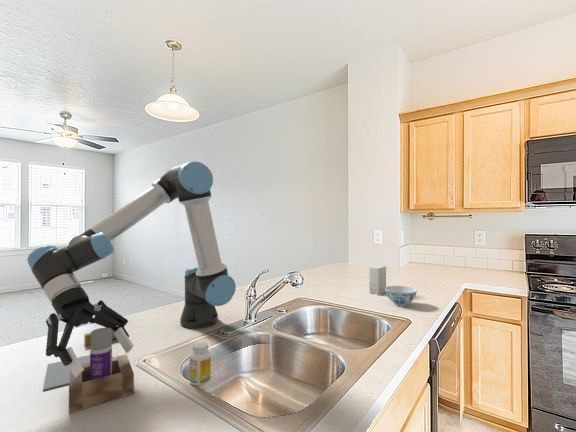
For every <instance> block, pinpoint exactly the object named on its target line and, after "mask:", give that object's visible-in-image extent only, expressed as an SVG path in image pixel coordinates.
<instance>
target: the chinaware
mask: <svg viewBox="0 0 576 432" xmlns="http://www.w3.org/2000/svg"><path fill="white" fill-rule="evenodd" d="M385 292H386V293H385V294H386V297H387V298H388V299H389V300H390V302H393V303H394V304H395V305H394V304H393V305H394V306H396V305H400V306H399V307H407V306H406V305H408V306H409V304H410V303H412V302H413V301H414V299H415V298H416V296H417V292H418V291H417V289H416V288H413V287H410V286H406V285H405V286H404V285H389V286H386V287H385Z"/></svg>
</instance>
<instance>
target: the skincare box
mask: <svg viewBox="0 0 576 432" xmlns="http://www.w3.org/2000/svg"><path fill="white" fill-rule="evenodd" d="M368 273H369V277H368V278H369V282H368V284H369V286H368V288H369V290H368V291H369V294H370V293H372V294H371V295H374V294H377V295H376V296H381V295H383V294H382V293H384V294H386V293H385V287H387V266H384V265H379V264H377V265H372V266H369V271H368ZM380 294H381V295H380Z"/></svg>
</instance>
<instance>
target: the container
mask: <svg viewBox="0 0 576 432" xmlns="http://www.w3.org/2000/svg"><path fill="white" fill-rule="evenodd" d="M90 333H91V345H90V346H89V349H90V350H89V355H90V380H93V379H97V378H101V377H105V376H109V375H112V357H113V341H112V331H111V328H106V327H100V328H95V329H93V330H92V331H90Z"/></svg>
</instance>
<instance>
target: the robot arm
mask: <svg viewBox="0 0 576 432" xmlns="http://www.w3.org/2000/svg"><path fill="white" fill-rule="evenodd" d="M213 184H214V176H213V173H212V171H211V170H210V168H209V167H208V166H207V165H206V164H205V163H203V162H200V161H196V160H195V161H194V160H193V161H187V162H186V161H185V162H184V163H182V164H179V165H176V166H173V167H171V168H170V169H169V170H168V171H166V172H165V173H164V174H163V175H161V176H160V177H159V178H158V179H156V180H155V181H153V182H152V183H151V187H149V188H148V189H147V190H145V191H143V192H142V193H140V194H139V195H137V196H136V197H135V198H132V200H130V201H128V202H126V203H125V204H124V205H123V206H122V207H119V208H118V209H116V210H115V211H114V212H112V213H111V214H109V215H108V216H106V217H105V218H103V219H102V220H100V221H99V222H98V223H96V224H94V225H93V226H92V227H90V228H88V229H87V230H85V231H84V232H83V233H81V234H79V235H76V236H74V237H73V238H72V239H70V241H69V243H68V245H67V246H64V247H61V248H58V247H57V246H56V245H51V244H50V245H49V244H48V245H46V246H44V245H42V246H39V247H38V248H36V249H34V250H32V251H31V252H30V253H29V254H28V256H27V259H26V260H27V264H28V266H29V269H30V270H31V273H32V274H33V276H34V277H35V279H36V281H37V283H38V284H39V285H40V287H41V289H42V290H43V292H44V294H45V296H46V297H47V298H48V301H49V302H50V303H51V306H52V307H53V310H54V312H55V313H53V312H52V313H51V314H50V315H49V316H48V318H46V320H45V323H46V326H47V338H46V349H45V356H46V357H51V356H53V357H54V358H59V359H60V362H61V361H62V363H63V365H65V366H67V365H68V366H69V368H70V370H71V371H72V373H73V375H74V377H75V378H77V377H79V376H80V374H81V373H82V372H83V371H84V368H83V367H82V365H81V363H80V361H79V360H78V358H79V357H78V356H77V354H76V352H75V351H74V349H73V348H72V346H69V347H68V344H69V340H70V338H71V335H72V332H73V331H74V327H75V328H78V327H80V326H82V325H86V324H89V323H90V324H96V325H99V326H101V327H102V328H111V330H113V331H116V332H115V334H114V335H115V336H116V338H117V339H118V340H117V341H118V343H119V344H120V346H121V347H122V349H123V350H124V352H125V353H126V354H128V353H130V352H131V350H132V349H133V348H134V347H135V345H134V344H133V343H132V341H131V339H130V335H129V333H128V331H127V330H126V328H125V326H126V325H127V324H128V323H129V320H128V319H127V318H126V317H124V316H122V315H121V314H119V313H118V312H117V311H115V310H114V309H112V308H110V307H109V306H107V305H106V303H105V302H104V301H103V300H99V301H98V302H97V303H94V304H92V303H91V302H90V299H89V295H88V294H87V293H86V290H85V289H84V288H83V286H82V284H81V283H80V281H79V280H78V278H77V277H76V275H75V273H76V272H77V271H79V270H81V269H83V268H85V267H87V266H89V265H92V264H95V263H96V262H98V261H101V260H102V259H103V260H104V259H105V258H107V257H108V256H111V255H112V254H113V253H114V251H115V250H114V249H115V248H114V246H113V244H112V242H113V241H114V240H115V239H117V238H118V237H119V236H121V235H123V234H124V233H125V232H127V231H128V230H129V229H131V228H132V227H133V226H135V225H137V224H138V223H140V222H141V221H142V220H144V219H145V218H146V217H147V216H149V215H151V214H152V213H153V212H155V211H156V210H157V209H158V208H160V207H161V206H163V205H164V204H170V203H171V202H173V201H174V200H176V199H178V202H179V203H180V204H181V205H183V206H184V209H185V213H186V218H187V223H188V226H189V227H188V228H189V231H190V235H191V240H192V245H193V249H194V254H195V257H196V262H197V266H194V267H188V268H186V269H185V271H184V306H183V309H182V312H181V315H180V319H179V320H180V322H179V323H180V326H182V327H183V328H187V329H200V328H206V327H210V326H214V325H215V324H217V323H218V322H219V314H218V311H217V309H216V307H221V306H224V305H227V304H228V303H229V302H230V301H231V300H232V299H233V296H234V295H235V292H236V290H237V289H236V282H235V279H234V278H233V277H231V276H230V275H229V272H228V271H229V270H228V267H227V265H226V264H224V263H223V262H222V258H221V255H220V249H219V245H218V241H217V236H216V232H215V226H214V221H213V217H212V213H211V208H210V203H209V202H210V199H211V198H212V192H211V188H212V187H213ZM60 321H61V322H63V323H65V325H64V329H63V331H62V335H61V338H60V340H59V343H58V336H59V323H60Z"/></svg>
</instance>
